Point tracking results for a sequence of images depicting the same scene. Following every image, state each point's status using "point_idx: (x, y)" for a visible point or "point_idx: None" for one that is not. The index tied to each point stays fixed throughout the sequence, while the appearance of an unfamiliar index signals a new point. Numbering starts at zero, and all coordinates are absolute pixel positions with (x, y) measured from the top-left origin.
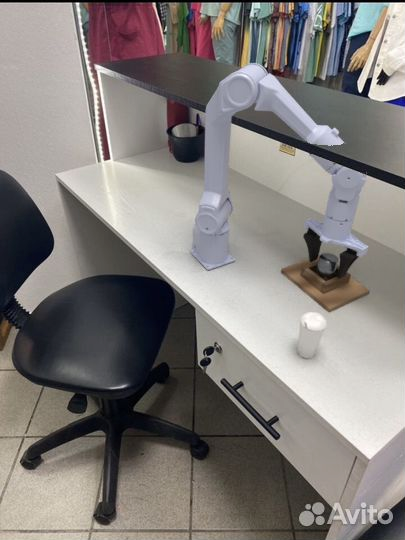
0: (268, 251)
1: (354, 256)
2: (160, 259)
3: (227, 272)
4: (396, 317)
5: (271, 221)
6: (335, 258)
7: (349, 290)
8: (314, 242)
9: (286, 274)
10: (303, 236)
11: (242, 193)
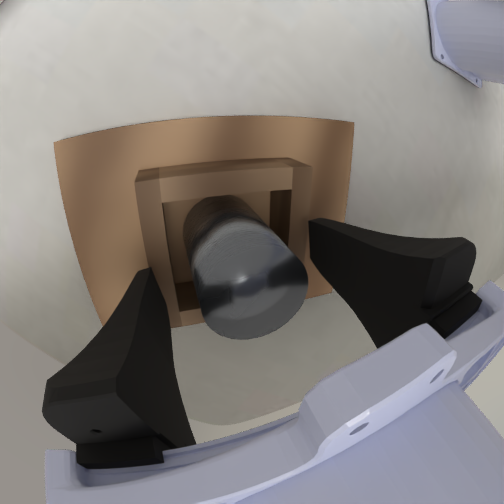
0: (420, 169)
1: (67, 437)
2: None
3: (406, 5)
4: (14, 325)
5: None
6: (236, 327)
7: (123, 281)
8: (394, 283)
9: (323, 119)
10: (466, 241)
11: (496, 252)
